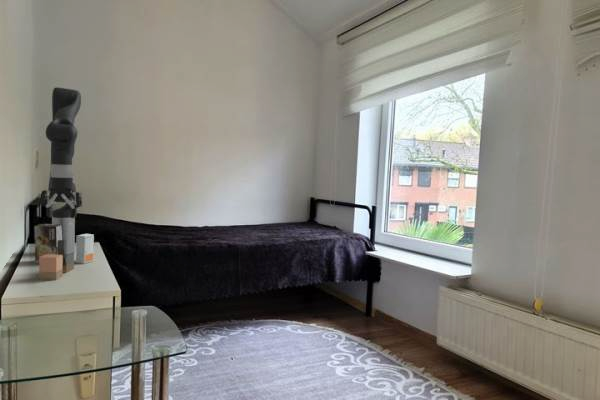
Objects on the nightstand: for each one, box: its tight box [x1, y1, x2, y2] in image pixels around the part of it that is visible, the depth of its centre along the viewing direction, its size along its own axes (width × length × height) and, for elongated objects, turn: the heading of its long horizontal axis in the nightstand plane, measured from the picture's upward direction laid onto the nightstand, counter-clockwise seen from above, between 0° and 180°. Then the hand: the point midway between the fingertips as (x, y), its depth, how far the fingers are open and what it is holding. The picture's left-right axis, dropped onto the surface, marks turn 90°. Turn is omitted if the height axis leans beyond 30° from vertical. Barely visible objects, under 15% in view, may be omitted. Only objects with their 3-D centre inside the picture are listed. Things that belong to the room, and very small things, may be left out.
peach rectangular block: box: [38, 254, 63, 281], centre depth 162 cm, size 5×6×8 cm
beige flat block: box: [57, 240, 68, 263], centre depth 167 cm, size 12×3×9 cm, turn 5°
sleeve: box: [62, 253, 75, 274], centre depth 173 cm, size 7×5×7 cm, turn 5°
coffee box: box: [33, 223, 63, 264], centre depth 185 cm, size 9×6×16 cm
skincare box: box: [75, 233, 95, 265], centre depth 188 cm, size 6×4×12 cm
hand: (61, 217), depth 170 cm, fingers open, 8 cm apart
